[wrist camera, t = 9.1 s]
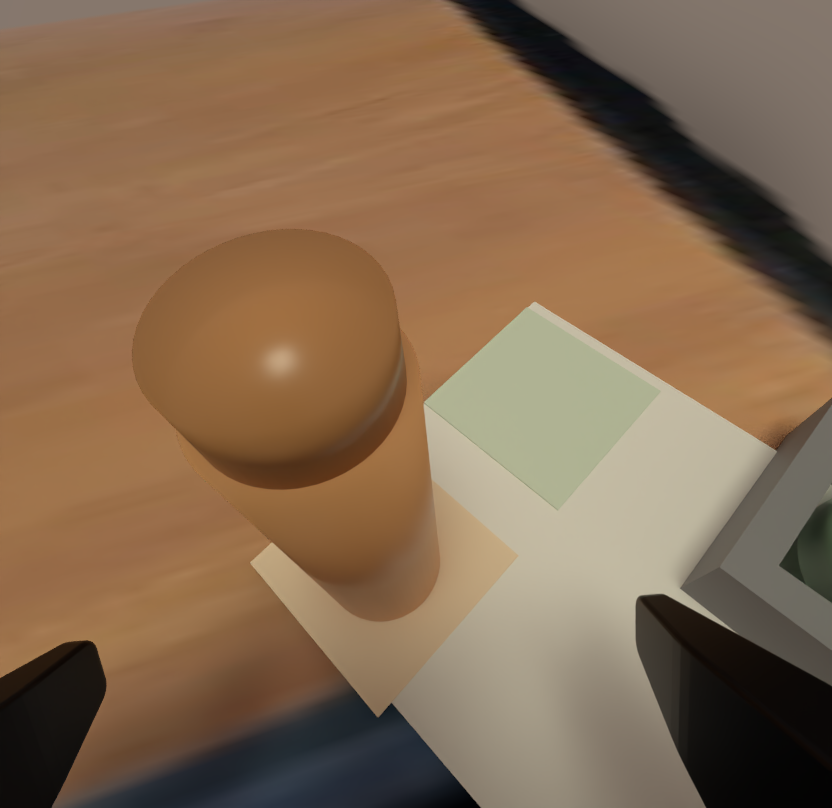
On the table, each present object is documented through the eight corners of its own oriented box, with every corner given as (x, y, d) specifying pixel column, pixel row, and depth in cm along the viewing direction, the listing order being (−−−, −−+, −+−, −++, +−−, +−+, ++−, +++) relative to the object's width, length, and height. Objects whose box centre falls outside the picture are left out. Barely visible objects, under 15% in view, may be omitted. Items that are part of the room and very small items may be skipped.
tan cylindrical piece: (463, 557, 16) (475, 308, 6) (380, 649, 15) (226, 525, 5) (384, 483, 17) (289, 185, 8) (302, 562, 16) (63, 329, 6)
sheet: (1031, 582, 15) (1152, 555, 12) (770, 1190, 10) (881, 1362, 7) (548, 292, 22) (560, 236, 19) (254, 565, 17) (216, 540, 14)
